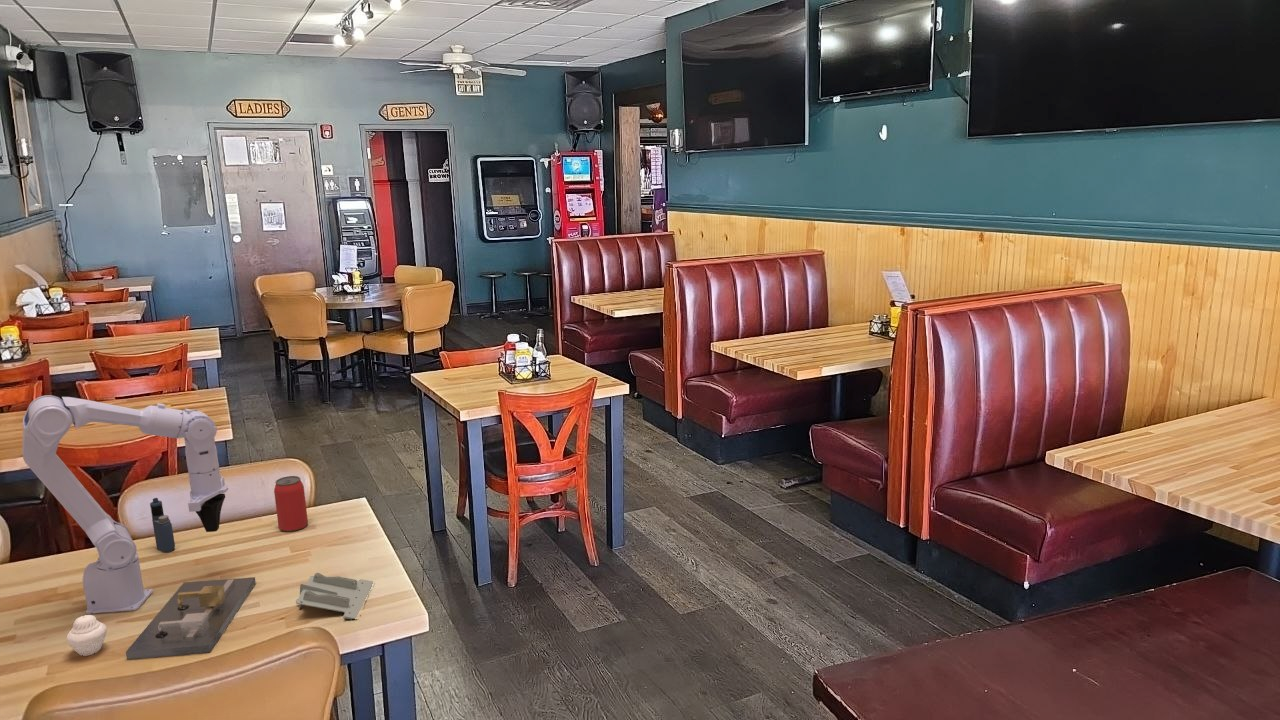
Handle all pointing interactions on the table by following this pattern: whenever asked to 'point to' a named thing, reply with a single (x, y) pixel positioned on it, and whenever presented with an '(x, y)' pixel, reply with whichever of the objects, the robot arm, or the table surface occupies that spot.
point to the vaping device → (162, 527)
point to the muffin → (87, 635)
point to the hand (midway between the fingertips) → (212, 530)
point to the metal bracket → (335, 594)
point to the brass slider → (205, 596)
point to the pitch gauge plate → (174, 615)
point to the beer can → (290, 503)
